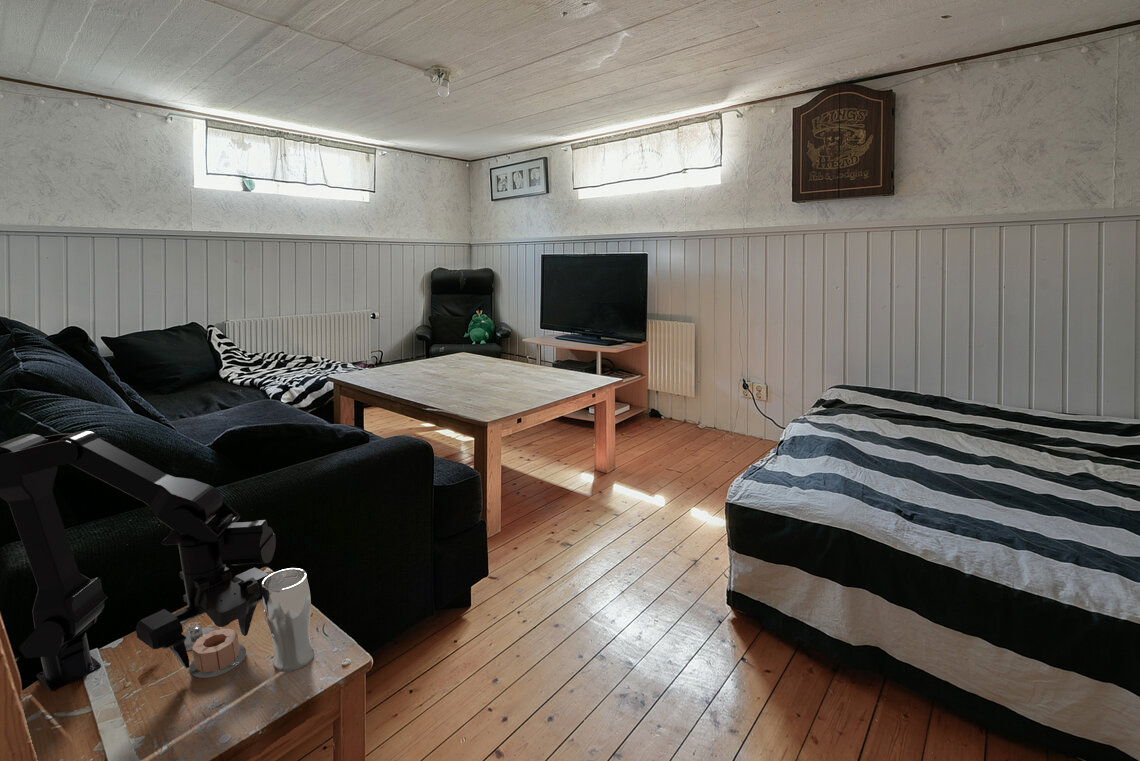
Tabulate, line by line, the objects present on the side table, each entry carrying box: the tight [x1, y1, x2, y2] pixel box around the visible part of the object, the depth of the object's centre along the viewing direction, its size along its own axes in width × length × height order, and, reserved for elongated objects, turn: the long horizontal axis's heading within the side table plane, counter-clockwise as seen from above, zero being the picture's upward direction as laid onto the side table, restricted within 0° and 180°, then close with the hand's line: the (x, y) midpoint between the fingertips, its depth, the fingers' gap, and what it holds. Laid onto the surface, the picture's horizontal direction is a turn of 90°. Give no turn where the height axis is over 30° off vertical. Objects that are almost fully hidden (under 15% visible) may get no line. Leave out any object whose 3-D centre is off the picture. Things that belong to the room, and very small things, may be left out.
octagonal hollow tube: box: [191, 627, 240, 673], centre depth 94 cm, size 6×6×4 cm
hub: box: [189, 643, 247, 679], centre depth 94 cm, size 8×8×3 cm
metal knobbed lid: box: [183, 624, 217, 651], centre depth 100 cm, size 6×6×2 cm
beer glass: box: [261, 567, 315, 673], centre depth 94 cm, size 7×7×15 cm
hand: (216, 650), depth 94 cm, fingers open, 9 cm apart
